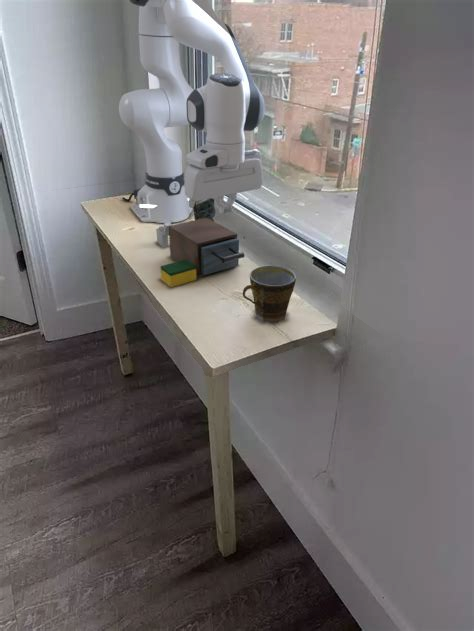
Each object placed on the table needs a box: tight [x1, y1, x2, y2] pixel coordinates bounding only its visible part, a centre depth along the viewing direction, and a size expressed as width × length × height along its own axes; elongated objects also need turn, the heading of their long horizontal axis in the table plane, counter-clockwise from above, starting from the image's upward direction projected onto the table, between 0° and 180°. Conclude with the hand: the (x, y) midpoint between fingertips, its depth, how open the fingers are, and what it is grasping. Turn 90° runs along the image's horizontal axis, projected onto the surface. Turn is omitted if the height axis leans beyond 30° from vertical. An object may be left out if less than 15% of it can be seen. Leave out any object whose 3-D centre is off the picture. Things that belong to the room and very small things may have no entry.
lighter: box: [155, 222, 172, 248], centre depth 145 cm, size 7×2×8 cm, turn 33°
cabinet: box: [168, 218, 238, 278], centre depth 136 cm, size 15×12×9 cm
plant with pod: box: [192, 198, 216, 222], centre depth 150 cm, size 8×11×20 cm
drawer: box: [200, 237, 245, 276], centre depth 132 cm, size 19×11×7 cm, turn 36°
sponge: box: [159, 259, 197, 288], centre depth 128 cm, size 5×7×4 cm
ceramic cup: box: [242, 265, 297, 324], centre depth 111 cm, size 13×10×10 cm
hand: (225, 212), depth 122 cm, fingers closed
